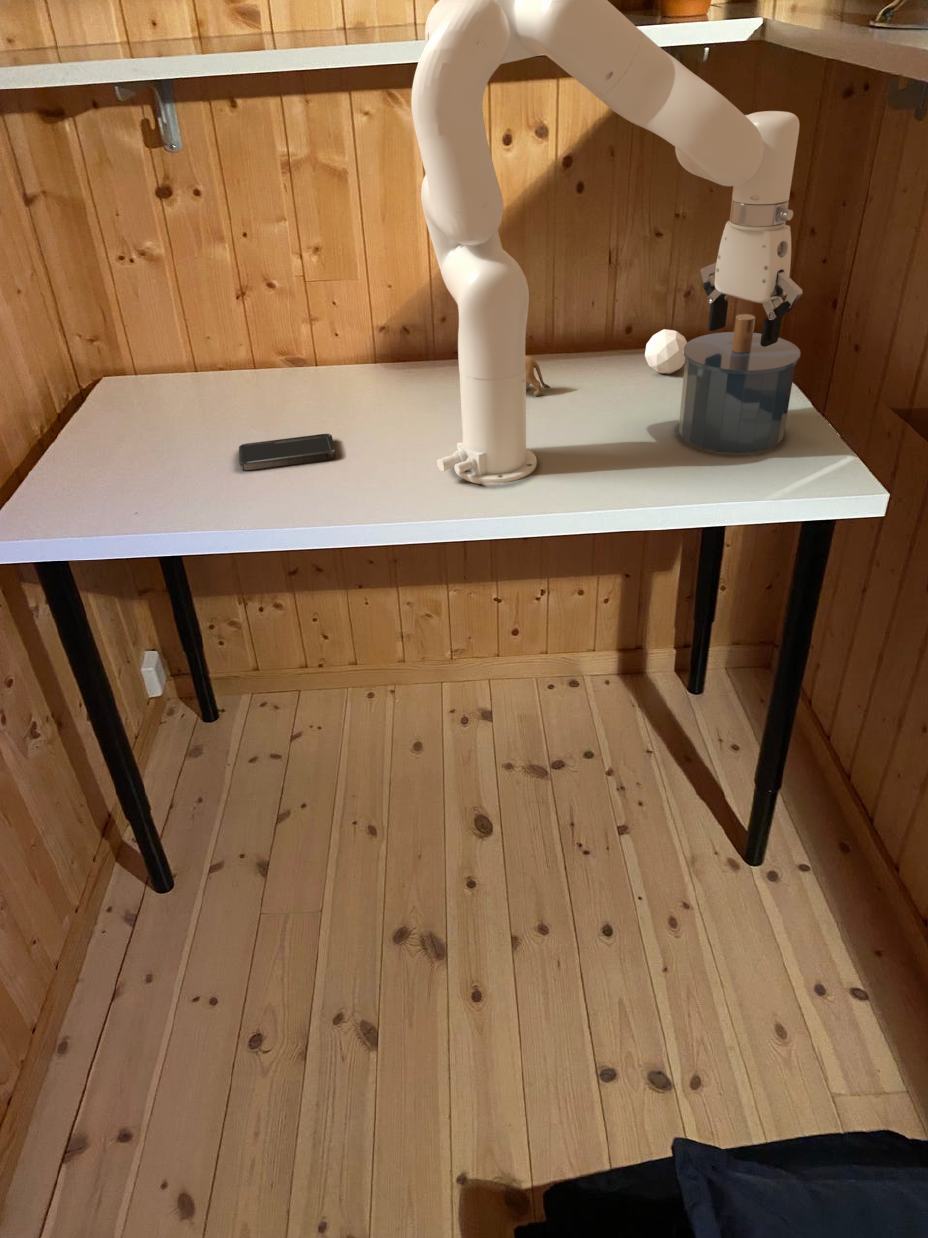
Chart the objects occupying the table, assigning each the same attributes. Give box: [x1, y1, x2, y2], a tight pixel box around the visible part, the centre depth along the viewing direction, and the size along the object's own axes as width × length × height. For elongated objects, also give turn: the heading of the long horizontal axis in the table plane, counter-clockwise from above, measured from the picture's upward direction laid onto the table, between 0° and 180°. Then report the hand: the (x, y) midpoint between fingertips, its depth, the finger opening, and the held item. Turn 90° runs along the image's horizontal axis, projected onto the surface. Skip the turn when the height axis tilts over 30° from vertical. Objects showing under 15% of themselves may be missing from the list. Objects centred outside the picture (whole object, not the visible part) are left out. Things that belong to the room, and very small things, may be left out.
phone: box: [238, 433, 336, 471], centre depth 147 cm, size 8×1×15 cm
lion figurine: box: [525, 354, 551, 397], centre depth 162 cm, size 15×5×9 cm, turn 92°
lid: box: [683, 313, 801, 374], centre depth 137 cm, size 17×17×6 cm
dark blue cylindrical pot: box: [678, 358, 796, 454], centre depth 142 cm, size 16×16×13 cm
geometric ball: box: [644, 328, 688, 375], centre depth 167 cm, size 8×8×8 cm
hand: (742, 336), depth 137 cm, fingers open, 9 cm apart
